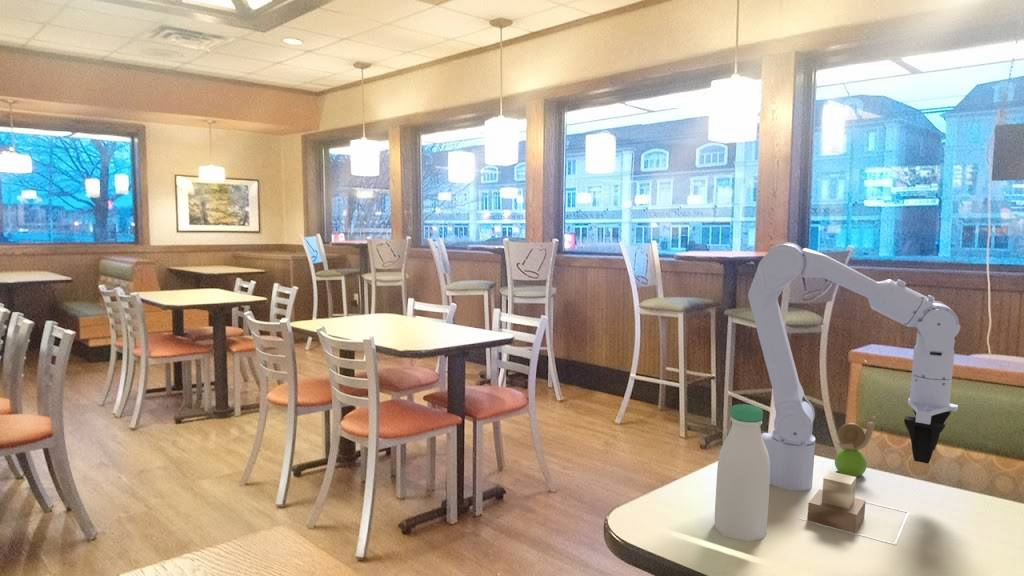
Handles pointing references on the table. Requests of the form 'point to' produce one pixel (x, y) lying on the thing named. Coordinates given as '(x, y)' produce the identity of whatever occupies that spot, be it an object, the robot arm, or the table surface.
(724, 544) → the table surface
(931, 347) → the robot arm
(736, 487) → the milk bottle
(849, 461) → the snail figurine
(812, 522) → the white rectangular outline marking
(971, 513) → the table surface
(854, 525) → the walnut base block
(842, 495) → the maple cube
